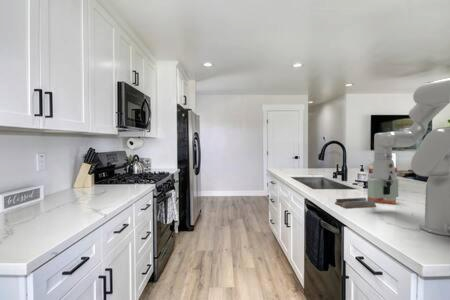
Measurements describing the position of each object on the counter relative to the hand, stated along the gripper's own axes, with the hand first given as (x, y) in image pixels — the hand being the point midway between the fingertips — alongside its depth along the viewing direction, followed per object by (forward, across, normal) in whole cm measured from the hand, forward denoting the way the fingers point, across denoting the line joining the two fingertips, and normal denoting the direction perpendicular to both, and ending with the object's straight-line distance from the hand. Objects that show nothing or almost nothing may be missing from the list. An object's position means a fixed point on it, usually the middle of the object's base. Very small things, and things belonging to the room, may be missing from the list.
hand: (382, 193), depth 128 cm
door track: (+9, +14, +5) cm, 18 cm away
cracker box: (+9, +18, -15) cm, 25 cm away
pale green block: (+2, 0, 0) cm, 2 cm away
